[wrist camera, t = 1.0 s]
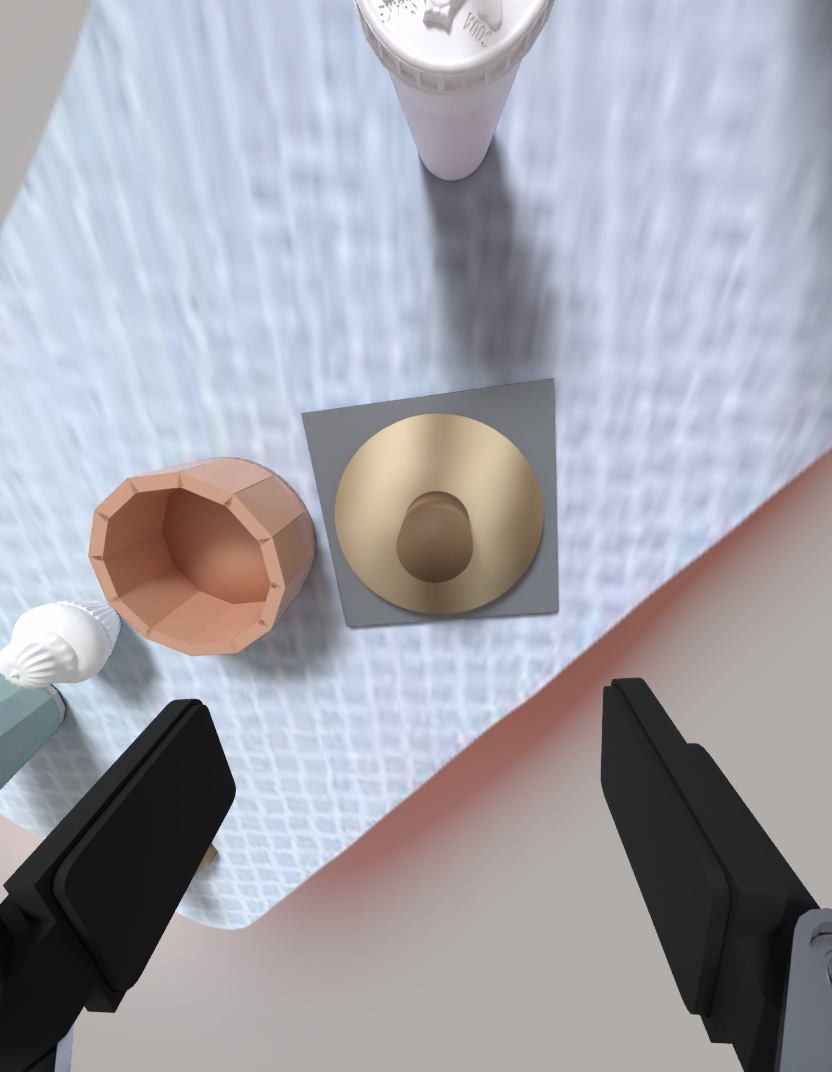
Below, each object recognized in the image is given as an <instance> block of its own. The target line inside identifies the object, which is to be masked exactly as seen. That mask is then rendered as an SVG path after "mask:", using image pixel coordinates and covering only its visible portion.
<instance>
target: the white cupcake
mask: <svg viewBox="0 0 832 1072" xmlns="http://www.w3.org/2000/svg"><path fill="white" fill-rule="evenodd" d="M120 620H121V619H120V618H119V615H118V614H117V612H116V611H115V609H114V608H112V607H111V606H109V605H108V604H107V603H105V602H101V601H97V600H85V601H58V602H57V603H51V604H45V605H41V606H38V607H35V608H33V609H31V610H29V611H28V612H26V613H25V614H23V615H22V616H21V617H20V618H19V619H18V621H17V622H16V624H15V626H14V629H13V632H12V640H11V642H10V644H8V645H7V646H6V647H5V648H3V649H2V651H1V652H0V672H1V674H2V675H4V676H5V679H6V680H8V681H11V683H12V685H17V686H18V687H19V688H22V689H23V688H27V689H31V690H33V689H37V688H44V687H47V686H48V685H49V684H51V683H77V682H82V681H85V680H87V679H89V678H91V677H92V676H94V675H95V674H97V673H98V672H99V671H100V670H101V669H102V667H103V666H104V664H105V663H106V660H107V659H108V657H109V656H110V655H111V652H112V650H113V647H114V645H115V642H116V639H117V637H118V634H119V631H120V628H121V621H120Z"/></svg>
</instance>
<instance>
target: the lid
mask: <svg viewBox="0 0 832 1072" xmlns="http://www.w3.org/2000/svg"><path fill="white" fill-rule="evenodd" d="M543 515H544V510H543V501H542V495H541V491H540V487H539V484H538V481H537V479H536V476H535V474H534V472H533V470H532V468H531V466H530V465H529V463H528V461H527V460H526V458H525V457H524V456H523V454H522V453H521V452H520V451H519V449H518V448H517V447H516V446H515V445H514V444H513V443H512V442H510V441H509V440H508V439H507V438H506V437H505V436H503V435H502V434H500V433H499V432H498V431H496V430H495V429H493V428H492V427H490V426H488V425H486V424H484V423H482V422H480V421H477V420H474V419H471V418H469V417H465V416H460V415H455V414H444V413H434V414H423V415H418V416H413V417H409V418H407V419H404V420H401V421H398V422H396V423H394V424H392V425H390V426H388V427H386V428H384V429H383V430H381V431H380V432H378V433H377V434H375V435H374V436H373V437H371V438H370V439H369V440H368V441H367V442H366V443H365V444H364V445H363V446H362V447H361V448H360V449H359V450H358V451H357V453H356V454H355V455H354V456H353V457H352V459H351V461H350V462H349V464H348V466H347V467H346V469H345V471H344V473H343V476H342V478H341V480H340V483H339V487H338V491H337V494H336V501H335V526H336V533H337V537H338V540H339V544H340V547H341V549H342V551H343V554H344V556H345V558H346V560H347V562H348V563H349V565H350V567H351V568H352V570H353V571H354V572H355V573H356V575H357V576H358V577H359V578H360V580H361V581H362V582H363V583H364V584H365V585H366V586H367V587H369V588H370V589H371V590H372V591H373V592H375V593H376V594H377V595H379V596H380V597H382V598H384V599H385V600H387V601H389V602H391V603H393V604H395V605H397V606H399V607H402V608H405V609H408V610H412V611H416V612H421V613H429V614H451V613H459V612H463V611H467V610H471V609H474V608H477V607H479V606H482V605H485V604H486V603H488V602H490V601H492V600H494V599H496V598H497V597H499V596H500V595H502V594H503V593H504V592H506V591H507V590H508V589H509V588H510V587H511V586H513V585H514V584H515V583H516V582H517V581H518V579H519V578H520V577H521V576H522V575H523V574H524V572H525V571H526V569H527V568H528V566H529V565H530V563H531V561H532V559H533V557H534V555H535V553H536V551H537V548H538V545H539V542H540V539H541V534H542V528H543Z"/></svg>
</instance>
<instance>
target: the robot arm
mask: <svg viewBox="0 0 832 1072" xmlns="http://www.w3.org/2000/svg"><path fill="white" fill-rule="evenodd" d="M601 784H602V789H603V793H604V796H605V799H606V802H607V804H608V807H609V809H610V812H611V815H612V817H613V820H614V822H615V825H616V828H617V830H618V833H619V835H620V838H621V841H622V843H623V846H624V848H625V851H626V854H627V856H628V859H629V862H630V864H631V867H632V869H633V872H634V875H635V877H636V880H637V882H638V885H639V888H640V890H641V893H642V895H643V898H644V901H645V903H646V906H647V908H648V911H649V913H650V916H651V919H652V921H653V924H654V927H655V929H656V932H657V935H658V937H659V940H660V942H661V945H662V947H663V950H664V953H665V955H666V958H667V961H668V963H669V966H670V968H671V971H672V974H673V976H674V979H675V981H676V984H677V986H678V989H679V992H680V994H681V997H682V999H683V1001H684V1004H685V1006H686V1007H687V1010H688V1011H689V1012H690V1013H691V1014H696V1015H700V1016H701V1019H702V1021H703V1024H704V1026H705V1029H706V1031H707V1033H708V1036H709V1038H710V1041H711V1043H728V1044H729V1043H730V1044H733V1047H734V1049H735V1052H736V1054H737V1056H738V1059H739V1061H740V1063H741V1065H742V1068H743V1070H744V1072H832V909H829V908H825V909H820V907H819V906H818V904H817V903H816V902H815V900H814V899H813V897H812V896H811V895H810V893H809V892H808V891H807V889H806V888H805V886H804V885H803V884H802V882H801V881H800V879H799V878H798V877H797V875H796V874H795V872H794V871H793V870H792V868H791V867H790V866H789V864H788V863H787V861H786V860H785V859H784V857H783V856H782V854H781V853H780V852H779V850H778V849H777V847H776V846H775V845H774V843H773V842H772V841H771V839H770V838H769V837H768V835H767V834H766V832H765V831H764V829H763V828H762V827H761V825H760V824H759V823H758V821H757V820H756V818H755V817H754V816H753V814H752V813H751V811H750V810H749V809H748V807H747V806H746V804H745V803H744V802H743V800H742V799H741V798H740V796H739V795H738V793H737V792H736V791H735V789H734V788H733V786H732V785H731V784H730V782H729V781H728V779H727V778H726V777H725V775H724V774H723V772H722V771H721V770H720V768H719V767H718V766H717V764H716V763H715V761H714V760H713V759H712V757H711V756H710V755H709V753H708V752H707V751H706V750H705V749H704V748H703V747H702V746H700V745H699V744H695V743H691V744H689V743H688V744H687V743H686V741H685V740H684V738H683V737H682V735H681V734H680V732H679V731H678V729H677V728H676V726H675V725H674V723H673V722H672V720H671V719H670V717H669V716H668V715H667V713H666V712H665V710H664V709H663V707H662V706H661V704H660V703H659V701H658V700H657V698H656V697H655V695H654V694H653V692H652V691H651V689H650V688H649V687H648V685H647V684H646V682H645V681H644V680H643V679H642V678H622V679H613V680H612V682H611V686H605V687H604V689H603V717H602V752H601ZM235 793H236V786H235V782H234V779H233V777H232V774H231V771H230V768H229V765H228V763H227V760H226V757H225V754H224V751H223V749H222V746H221V743H220V740H219V737H218V735H217V732H216V729H215V726H214V723H213V721H212V718H211V715H210V712H209V709H208V707H207V706H206V705H203V703H202V702H201V701H200V700H199V699H182V700H173V701H171V702H170V703H169V704H168V705H167V706H166V707H165V708H164V709H163V710H162V711H161V712H160V713H159V714H158V716H157V717H156V718H155V719H154V720H153V721H152V722H151V723H150V724H149V725H148V727H147V728H146V729H145V730H144V731H143V732H142V733H141V734H140V735H139V736H138V738H137V739H136V740H135V741H134V742H133V743H132V744H131V745H130V746H129V747H128V749H127V750H126V751H125V752H124V753H123V754H122V755H121V756H120V757H119V758H118V760H117V761H116V762H115V763H114V764H113V765H112V766H111V767H110V768H109V769H108V770H107V772H106V773H105V774H104V775H103V776H102V777H101V778H100V779H99V780H98V781H97V783H96V784H95V785H94V786H93V787H92V788H91V789H90V790H89V791H88V792H87V794H86V795H85V796H84V797H83V798H82V799H81V800H80V801H79V802H78V803H77V805H76V806H75V807H74V808H73V809H72V810H71V811H70V812H69V813H68V814H67V815H66V817H65V818H64V819H63V820H62V821H61V822H60V823H59V824H58V825H57V826H56V828H55V829H54V830H53V831H52V832H51V833H50V834H49V835H48V836H47V837H46V839H45V840H44V841H43V842H42V843H41V844H40V845H39V846H38V847H37V849H36V850H35V851H34V852H33V853H32V854H31V855H30V856H29V857H28V858H27V860H25V862H24V863H23V864H22V865H21V866H20V867H19V868H18V869H17V870H16V872H15V873H14V874H13V875H12V876H11V877H10V878H9V879H8V880H7V881H6V882H5V884H4V885H3V886H4V888H5V889H6V890H7V892H8V893H9V895H8V896H7V897H6V898H5V899H4V900H3V902H2V903H1V904H0V1072H70V1067H71V1055H72V1043H73V1029H74V1022H75V1020H76V1019H77V1017H78V1015H79V1014H80V1012H81V1010H82V1009H83V1007H84V1006H85V1008H86V1009H87V1011H90V1012H109V1013H114V1012H115V1011H116V1009H117V1008H118V1006H119V1004H120V1002H121V1000H122V998H123V997H124V995H125V993H126V991H127V990H129V989H130V988H131V987H133V986H134V984H135V983H136V982H137V981H138V979H139V978H140V976H141V974H142V972H143V971H144V969H145V967H146V965H147V963H148V961H149V959H150V957H151V955H152V954H153V952H154V950H155V948H156V946H157V944H158V942H159V940H160V939H161V937H162V935H163V933H164V931H165V929H166V927H167V925H168V924H169V922H170V920H171V918H172V916H173V914H174V912H175V910H176V909H177V907H178V905H179V903H180V901H181V899H182V897H183V895H184V893H185V892H186V890H187V888H188V886H189V884H190V882H191V880H192V878H193V877H194V875H195V873H196V871H197V869H198V867H199V865H200V863H201V862H202V860H203V858H204V856H205V854H206V852H207V850H208V848H209V847H210V845H211V843H212V841H213V839H214V837H215V835H216V833H217V831H218V830H219V828H220V826H221V824H222V822H223V820H224V818H225V816H226V815H227V813H228V811H229V809H230V807H231V805H232V803H233V801H234V798H235Z"/></svg>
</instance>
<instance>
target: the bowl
mask: <svg viewBox="0 0 832 1072" xmlns="http://www.w3.org/2000/svg"><path fill="white" fill-rule="evenodd" d="M315 550H316V538H315V532H314V527H313V523H312V520H311V517H310V515H309V513H308V510H307V508H306V506H305V505H304V503H303V501H302V500H301V498H300V497H299V496H298V494H297V493H296V492H295V490H294V489H293V488H292V487H291V486H290V485H289V484H288V483H287V482H286V481H285V480H283V479H282V478H281V477H280V476H279V475H277V474H276V473H274V472H273V471H271V470H269V469H268V468H266V467H264V466H262V465H260V464H257V463H254V462H251V461H249V460H244V459H240V458H231V457H220V458H212V459H207V460H203V461H196V462H188V463H183V464H180V465H176V466H172V467H168V468H164V469H160V470H157V471H153V472H149V473H145V474H141V475H137V476H133V477H130V478H127V479H126V480H125V481H124V482H123V483H122V484H121V485H120V486H119V487H118V488H117V489H116V490H115V491H113V492H112V493H111V494H110V495H109V496H108V497H107V498H106V499H105V500H104V501H103V502H102V503H101V504H100V505H99V506H98V507H97V508H96V509H95V511H94V516H93V524H92V531H91V539H90V547H89V554H88V556H89V559H90V562H91V564H92V567H93V569H94V571H95V574H96V576H97V578H98V581H99V583H100V586H101V588H102V590H103V593H104V595H105V598H106V600H107V602H108V603H109V604H110V605H111V606H112V607H113V608H114V609H115V610H116V611H117V612H118V613H119V614H120V615H121V616H122V617H123V618H124V619H125V620H127V621H128V622H129V623H130V624H131V625H132V626H133V627H134V628H135V629H136V630H137V631H138V632H139V633H140V634H141V635H142V636H143V637H145V638H146V639H149V640H151V641H154V642H156V643H159V644H162V645H164V646H167V647H169V648H172V649H174V650H177V651H180V652H182V653H185V654H187V655H190V656H202V655H217V654H232V653H238V652H240V651H241V650H242V649H244V648H245V647H247V646H248V645H249V644H251V643H252V642H254V641H255V640H257V639H258V638H259V637H261V636H262V635H264V634H265V633H266V632H268V631H269V630H271V629H272V627H273V626H274V625H275V623H276V622H277V621H278V620H279V618H280V617H281V616H282V614H283V613H284V612H285V610H286V609H287V608H288V606H289V605H290V604H291V602H292V601H293V600H294V599H295V597H296V596H297V595H298V593H299V592H300V591H301V589H302V586H303V584H304V581H305V579H306V578H307V576H308V575H309V572H310V570H311V568H312V565H313V561H314V558H315Z"/></svg>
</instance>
